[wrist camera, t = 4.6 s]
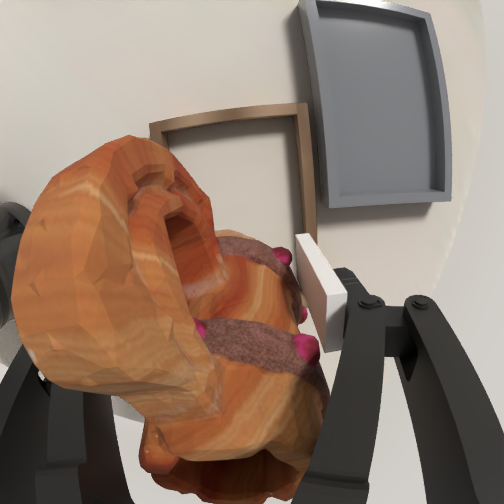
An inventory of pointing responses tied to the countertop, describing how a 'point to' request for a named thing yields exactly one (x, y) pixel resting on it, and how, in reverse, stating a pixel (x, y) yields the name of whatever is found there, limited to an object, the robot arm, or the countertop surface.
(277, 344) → the mug
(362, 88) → the tray
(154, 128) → the wooden picture frame
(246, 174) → the countertop surface
